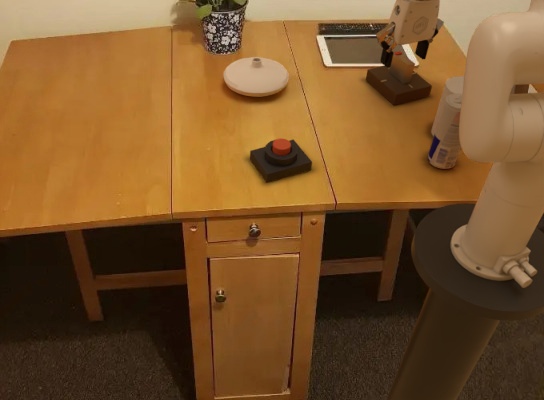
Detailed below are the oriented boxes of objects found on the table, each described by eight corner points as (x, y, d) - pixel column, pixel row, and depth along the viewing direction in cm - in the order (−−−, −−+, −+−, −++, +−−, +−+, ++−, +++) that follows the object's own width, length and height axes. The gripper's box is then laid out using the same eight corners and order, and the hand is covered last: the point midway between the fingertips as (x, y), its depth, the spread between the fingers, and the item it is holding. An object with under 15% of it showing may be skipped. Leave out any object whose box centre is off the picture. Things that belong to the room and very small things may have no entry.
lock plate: (429, 96, 138) (432, 84, 135) (393, 105, 135) (396, 94, 132) (399, 71, 146) (402, 60, 143) (365, 80, 143) (367, 68, 141)
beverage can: (460, 162, 120) (482, 100, 109) (446, 174, 117) (467, 112, 107) (436, 149, 123) (455, 88, 112) (421, 161, 120) (440, 100, 109)
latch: (410, 82, 136) (415, 62, 133) (403, 84, 136) (408, 64, 132) (395, 70, 140) (400, 50, 137) (388, 71, 140) (392, 52, 136)
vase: (280, 67, 147) (282, 41, 142) (294, 101, 136) (297, 75, 131) (219, 71, 146) (219, 45, 141) (228, 106, 134) (228, 80, 129)
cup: (465, 149, 123) (482, 101, 114) (426, 138, 126) (441, 90, 117) (473, 129, 128) (490, 82, 120) (436, 119, 131) (451, 72, 123)
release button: (285, 143, 118) (285, 136, 117) (293, 153, 116) (294, 146, 115) (269, 147, 117) (269, 140, 116) (277, 158, 115) (277, 151, 114)
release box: (292, 147, 123) (294, 132, 120) (311, 170, 118) (313, 154, 115) (249, 159, 120) (250, 143, 118) (266, 182, 115) (267, 167, 112)
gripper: (396, 3, 119) (380, 76, 130) (464, -11, 123) (443, 61, 135) (375, -12, 124) (362, 60, 135) (442, -24, 128) (423, 46, 140)
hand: (402, 60), depth 135 cm, fingers open, 9 cm apart
